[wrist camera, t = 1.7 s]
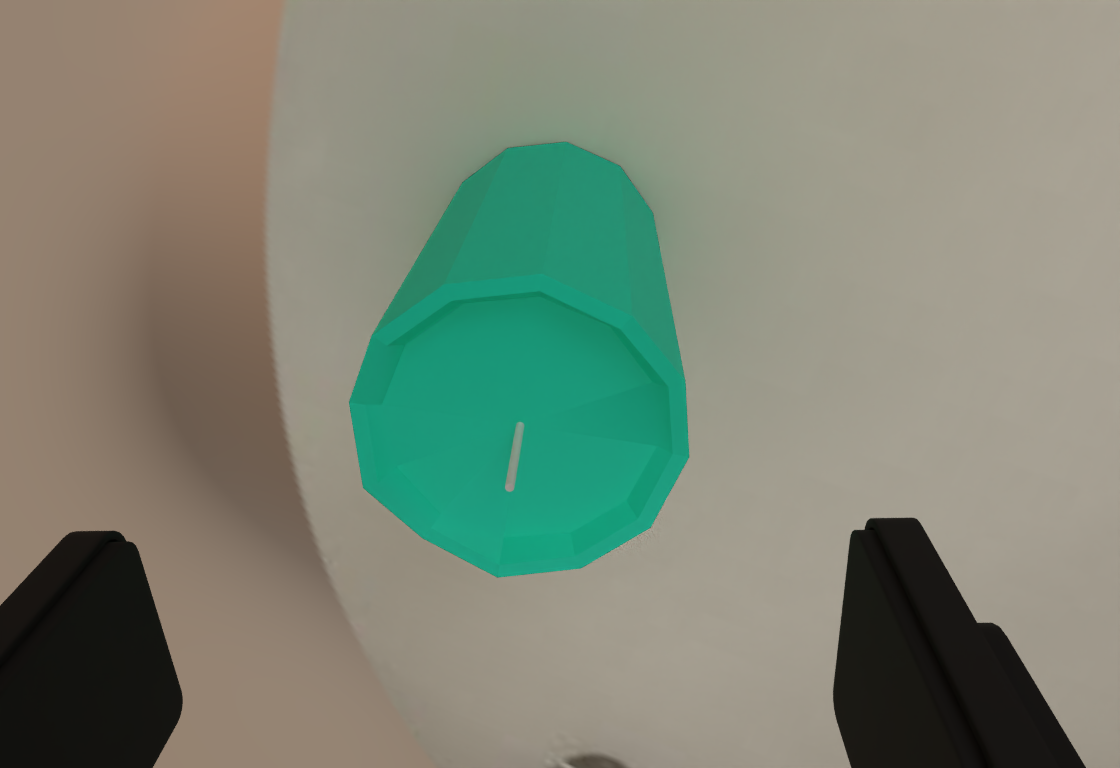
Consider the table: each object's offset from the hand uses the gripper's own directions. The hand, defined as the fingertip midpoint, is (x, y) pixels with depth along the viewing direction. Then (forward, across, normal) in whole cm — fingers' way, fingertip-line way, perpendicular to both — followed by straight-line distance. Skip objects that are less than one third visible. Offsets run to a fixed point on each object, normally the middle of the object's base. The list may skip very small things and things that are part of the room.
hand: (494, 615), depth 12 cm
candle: (+15, 0, 0) cm, 15 cm away
